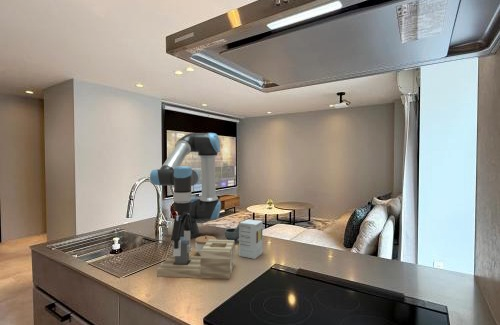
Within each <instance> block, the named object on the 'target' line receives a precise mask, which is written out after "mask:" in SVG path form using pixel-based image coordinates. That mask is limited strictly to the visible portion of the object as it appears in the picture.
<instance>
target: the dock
mask: <svg viewBox="0 0 500 325" xmlns="http://www.w3.org/2000/svg"><path fill="white" fill-rule="evenodd" d="M234 266H235V244H234V240H227V239H216V240H208V241H207V243H206V244H205V245H204V247H203V248H202V249H201V255H189V264H188V265H175V256H173V254H172V255H169V256H168V257H167V258H166V260H164V262H162V263H161V265H159V266H158V267H157V269H156V277H169V278H170V277H171V278H195V279H196V278H197V279H222V280H223V279H224V280H225V279H226V280H230V278H231V276H232V272H233V269H234Z"/></svg>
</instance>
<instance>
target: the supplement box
mask: <svg viewBox="0 0 500 325" xmlns="http://www.w3.org/2000/svg"><path fill="white" fill-rule="evenodd" d="M263 222H264V221H262V220H257V219H256V220H255V219H246V220H242V221H240V223H238V225H239V239H238V256H239V257H244V258H249V259H253V260H257V258H258V257H260V256H261V255H262V254H263V232H264V231H263V230H264V229H263V226H264V225H263Z"/></svg>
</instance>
